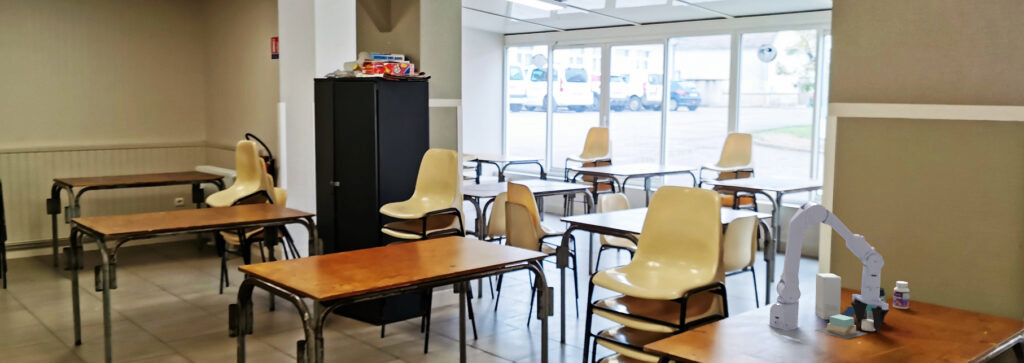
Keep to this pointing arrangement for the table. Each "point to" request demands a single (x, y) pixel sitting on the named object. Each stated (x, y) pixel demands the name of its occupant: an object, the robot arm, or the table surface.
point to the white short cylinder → (867, 325)
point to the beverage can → (868, 309)
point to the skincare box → (827, 295)
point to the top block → (841, 321)
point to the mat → (858, 333)
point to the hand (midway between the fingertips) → (868, 325)
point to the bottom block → (841, 329)
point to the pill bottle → (901, 295)
